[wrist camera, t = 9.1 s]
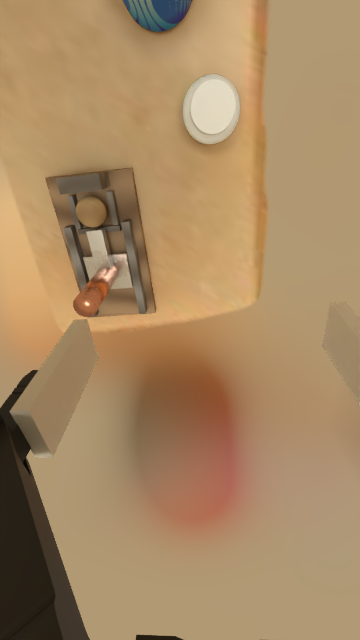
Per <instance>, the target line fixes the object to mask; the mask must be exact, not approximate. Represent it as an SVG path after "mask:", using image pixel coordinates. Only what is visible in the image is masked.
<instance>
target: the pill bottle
mask: <svg viewBox="0 0 360 640" xmlns="http://www.w3.org/2000/svg"><path fill="white" fill-rule="evenodd" d="M239 116H240V99H239V95H238V92H237V90H236V88H235V86H234V85H233V84H232V83H231V81H229V80H228V79H227V78H225V77H224V76H221V75H217V74H209V75H205V76H202V77H201V78H199V79H197V80H196V81H195V82H194V83H193V84H192V85H191V86H190V88H189V89H188V91H187V93H186V96H185V98H184V102H183V120H184V124H185V127H186V129H187V131H188V133H189V134H190V136H191V137H192V138H193V139H194V140H195V141H197V142H199V143H201V144H206V145H210V144H216V143H219V142H221V141H223V140H225V139H226V138H227V137H228V136H229V135H230V134H231V133H232V132H233V130H234V129H235V127H236V125H237V123H238V120H239Z"/></svg>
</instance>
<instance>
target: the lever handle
mask: <svg viewBox="0 0 360 640" xmlns="http://www.w3.org/2000/svg"><path fill="white" fill-rule="evenodd" d="M86 233H87V237H88V241H89V244H90V248H91V252H92V255H85V256H84V257H83V259H84V263H85V266H86V270H87V273H88V277H89V282H88V283H87V285H86V286H85V287H84V288H83V290H82V291H81V292H80V294H79V295H78V296H77V297H76V299H75V300H74V302H73V307H74V309H75V311H76V312H77V313H78V314H79V315H81V316H84V317H91V316H93V315H95V313H96V312H97V310H98V309H99V307H100V305H101V304H102V302H103V300H104V299H105V297H106V295H107V294H108V292H109V290H110V289H121V288H133V286H134V284H133V279H132V274H131V269H130V264H129V259H128V254H127V252H116V253H111V252H110V248H109V243H108V239H107V235H106V230H105V227H101V228H91V229H89V230H87V231H86Z"/></svg>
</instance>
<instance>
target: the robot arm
mask: <svg viewBox="0 0 360 640" xmlns="http://www.w3.org/2000/svg"><path fill="white" fill-rule="evenodd" d="M323 348H324V349H325V351H326V352H327V354H328V356H329V357H330V359H331V361H332V362H333V364H334V365H335V367H336V369H337V370H338V372H339V373H340V375H341V377H342V378H343V380H344V381H345V383H346V385H347V386H348V388H349V389H350V391H351V392H352V394H353V396H354V397H355V399H356V401H357V402H358V404H359V406H360V317H359V316H358V315H357V314H356V313H355V312H354V311H353V310H352V308H350V306H349V305H348V304H347V303H346V302H339V303H330V306H329V312H328V318H327V324H326V329H325V335H324V340H323ZM98 358H99V357H98V354H97V351H96V347H95V344H94V341H93V338H92V334H91V331H90V328H89V325H88V321H87V319H81V320H73V322H72V323H71V325H70V326H69V328H68V329H67V330H66V332H65V333H64V335H63V336H62V338H61V339H60V341H59V342H58V343H57V345H56V346H55V347H54V349H53V351H52V352H51V353H50V355H49V356H48V357H47V359H46V360H45V362H44V363H43V365H42V366H41V367H40V369H39V370H32V371H31V372H30V373H28V374H27V375H26V376H25V377H23V378H22V380H21V381H20V382H19V384H18V385H17V388H15V389H14V391H13V392H12V394H11V395H10V396H9V397H8V399H7V400H6V401H5V403H4V404H3V405H2V407H1V408H0V640H90V639H89V637H88V635H87V632H86V630H85V627H84V624H83V621H82V618H81V615H80V612H79V609H78V606H77V603H76V600H75V597H74V595H73V592H72V589H71V586H70V583H69V580H68V577H67V574H66V571H65V568H64V565H63V562H62V559H61V556H60V553H59V550H58V547H57V544H56V541H55V538H54V536H53V532H52V530H51V527H50V524H49V521H48V518H47V515H46V512H45V509H44V506H43V503H42V500H41V497H40V494H39V491H38V488H37V485H36V482H35V479H34V476H33V473H32V470H31V468H30V465H29V462H28V460H27V458H26V456H27V454H28V452H29V451H30V449H31V450H32V452H33V454H34V456H35V457H36V458H38V457H53V456H54V454H55V452H56V450H57V447H58V445H59V443H60V441H61V439H62V437H63V434H64V432H65V430H66V428H67V426H68V424H69V421H70V419H71V417H72V415H73V413H74V411H75V408H76V406H77V404H78V402H79V400H80V398H81V395H82V393H83V391H84V389H85V387H86V384H87V382H88V380H89V378H90V376H91V373H92V371H93V369H94V367H95V365H96V362H97V361H98ZM136 640H183V639H180V638H178V637H176V636H155V635H136Z"/></svg>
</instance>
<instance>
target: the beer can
mask: <svg viewBox="0 0 360 640" xmlns="http://www.w3.org/2000/svg"><path fill="white" fill-rule="evenodd" d="M123 1H124V3H125V5H126V7H127V9H128V11H129V13H130V14H131V16H132V17H133V18H134V20H135V21H136V22H137V23H138V24H140V25H141V26H142V27H144V28H146V29H148V30H150V31H154V32H163V31H167V30H169V29H171V28H173V27H175V26H176V25H177V24H178V23H179V22H180V21H181V20H182V19H183V18H184V16H185V15H186V13H187V11H188V9H189V7H190V5H191V2H192V0H123Z"/></svg>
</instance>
